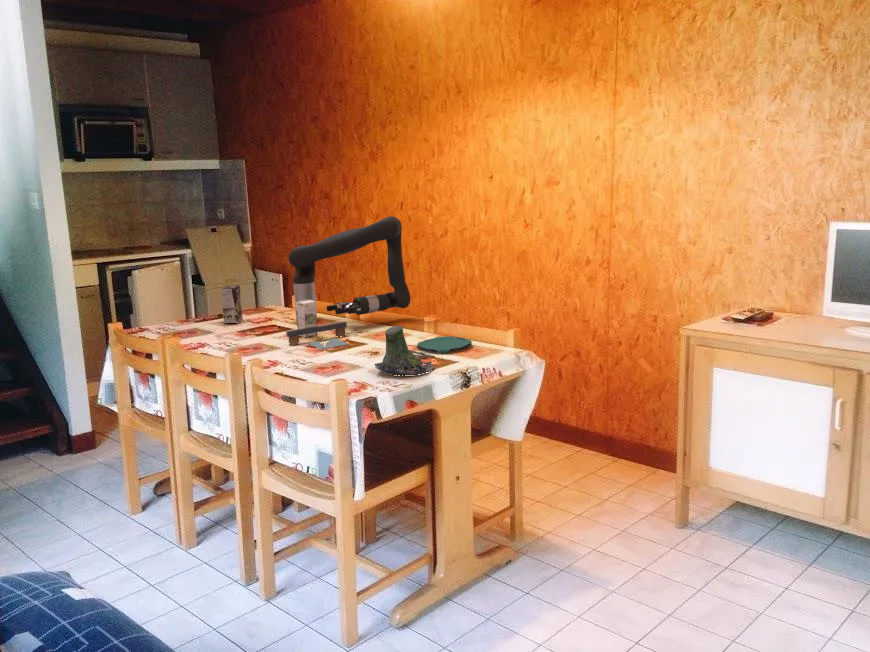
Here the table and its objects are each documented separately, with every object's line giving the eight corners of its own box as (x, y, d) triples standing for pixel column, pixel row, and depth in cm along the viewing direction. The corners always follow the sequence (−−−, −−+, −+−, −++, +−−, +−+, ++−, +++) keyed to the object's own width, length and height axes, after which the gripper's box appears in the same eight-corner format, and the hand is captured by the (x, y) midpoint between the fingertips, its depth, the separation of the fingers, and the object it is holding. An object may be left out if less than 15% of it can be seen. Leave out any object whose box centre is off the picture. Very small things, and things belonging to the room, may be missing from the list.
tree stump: (447, 371, 251) (436, 322, 244) (399, 397, 241) (386, 347, 234) (416, 358, 265) (405, 311, 258) (369, 382, 256) (356, 334, 249)
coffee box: (238, 324, 336) (234, 288, 333) (223, 324, 336) (220, 288, 333) (243, 319, 345) (240, 284, 342) (229, 320, 345) (225, 285, 342)
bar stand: (289, 344, 295) (288, 335, 294) (342, 335, 307) (341, 326, 306) (292, 345, 292) (291, 336, 292) (345, 336, 304) (345, 327, 304)
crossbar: (286, 336, 293) (286, 331, 293) (344, 326, 306) (344, 321, 306) (288, 337, 292) (288, 331, 291) (346, 327, 304) (346, 322, 304)
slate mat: (307, 344, 293) (307, 343, 293) (335, 339, 299) (335, 338, 299) (320, 350, 283) (320, 349, 283) (349, 345, 289) (349, 343, 289)
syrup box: (309, 333, 312) (306, 299, 309) (317, 335, 308) (315, 300, 305) (297, 336, 308) (295, 301, 305) (306, 338, 304) (303, 302, 301)
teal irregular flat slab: (482, 346, 280) (482, 340, 280) (422, 364, 261) (421, 358, 260) (445, 339, 295) (445, 333, 294) (385, 356, 275) (385, 350, 275)
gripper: (357, 294, 325) (323, 299, 317) (373, 298, 313) (338, 303, 305) (359, 311, 327) (324, 316, 318) (374, 316, 315) (339, 321, 307)
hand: (331, 310), depth 312 cm, fingers open, 8 cm apart
